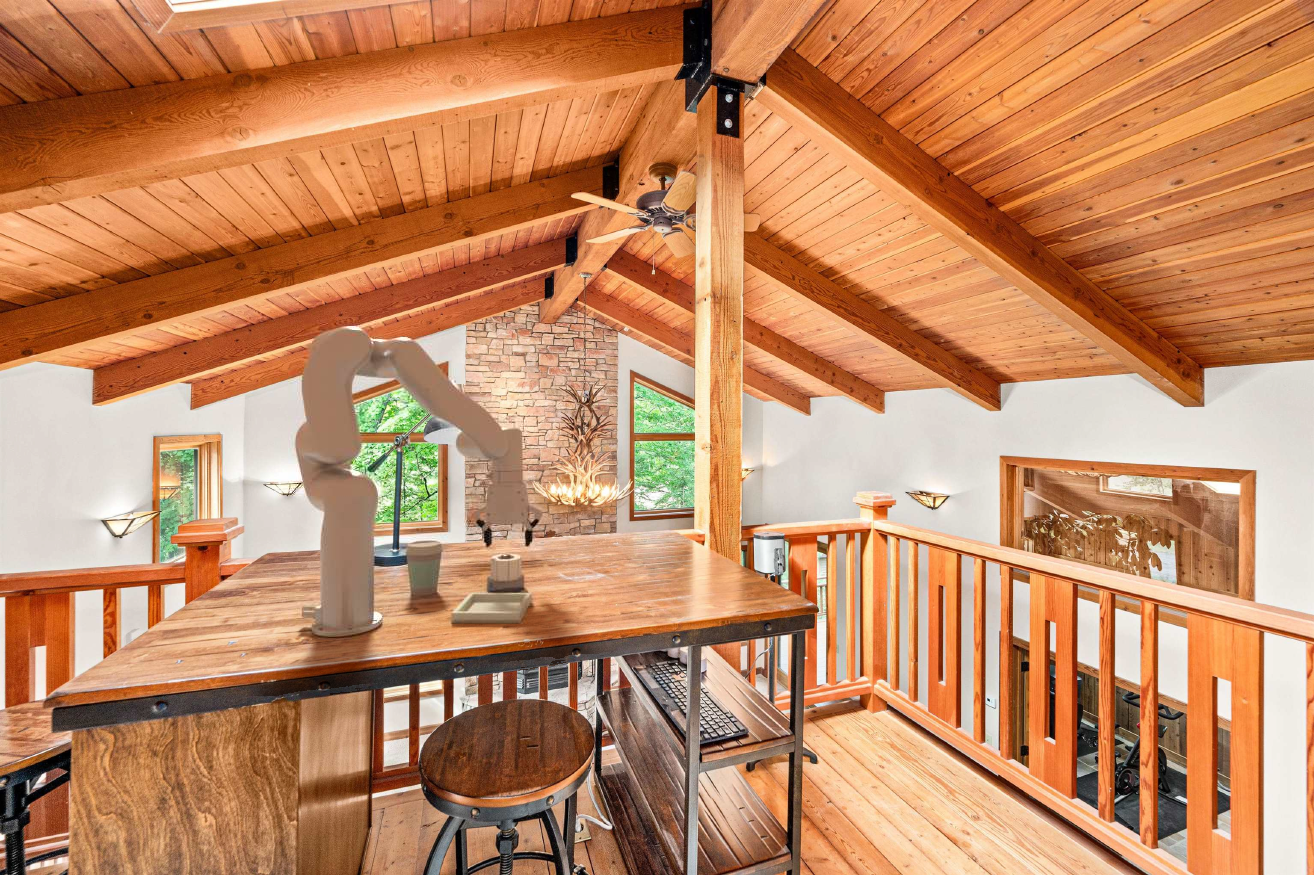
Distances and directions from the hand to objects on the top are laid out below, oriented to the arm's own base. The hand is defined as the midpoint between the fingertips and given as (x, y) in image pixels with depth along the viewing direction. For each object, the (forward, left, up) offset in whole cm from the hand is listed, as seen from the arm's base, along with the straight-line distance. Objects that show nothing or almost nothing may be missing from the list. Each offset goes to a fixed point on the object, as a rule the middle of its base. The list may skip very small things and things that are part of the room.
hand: (508, 545), depth 144 cm
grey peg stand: (0, 0, -11) cm, 11 cm away
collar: (0, 0, -8) cm, 8 cm away
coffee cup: (-19, -3, -11) cm, 23 cm away
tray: (+1, -17, -11) cm, 21 cm away
